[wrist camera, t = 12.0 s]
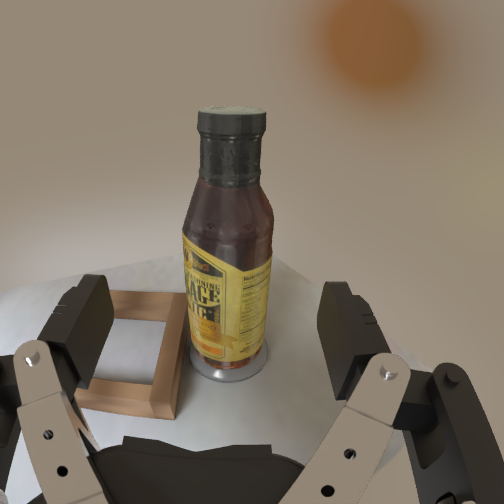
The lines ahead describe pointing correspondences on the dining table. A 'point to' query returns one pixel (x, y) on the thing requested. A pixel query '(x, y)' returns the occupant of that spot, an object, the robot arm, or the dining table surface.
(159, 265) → the dining table surface
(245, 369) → the coaster
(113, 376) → the dining table surface
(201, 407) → the dining table surface
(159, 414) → the pocket frame
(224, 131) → the sauce bottle
